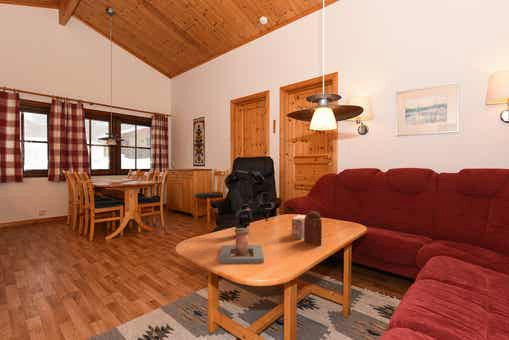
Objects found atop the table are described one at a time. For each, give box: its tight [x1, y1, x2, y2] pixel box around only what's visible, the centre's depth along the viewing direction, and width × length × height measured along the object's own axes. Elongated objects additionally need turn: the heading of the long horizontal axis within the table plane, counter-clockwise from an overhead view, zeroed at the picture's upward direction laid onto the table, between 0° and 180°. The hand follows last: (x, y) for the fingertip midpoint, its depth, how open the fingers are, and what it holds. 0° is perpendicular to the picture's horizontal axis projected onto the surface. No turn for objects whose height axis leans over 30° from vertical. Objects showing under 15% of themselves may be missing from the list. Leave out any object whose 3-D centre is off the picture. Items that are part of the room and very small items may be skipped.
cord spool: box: [234, 227, 250, 257], centre depth 121 cm, size 7×7×13 cm
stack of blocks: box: [291, 214, 306, 241], centre depth 160 cm, size 21×6×12 cm, turn 151°
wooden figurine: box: [303, 210, 323, 246], centre depth 144 cm, size 12×6×18 cm, turn 46°
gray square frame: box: [218, 244, 265, 264], centre depth 123 cm, size 19×20×2 cm
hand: (258, 221), depth 141 cm, fingers open, 9 cm apart
